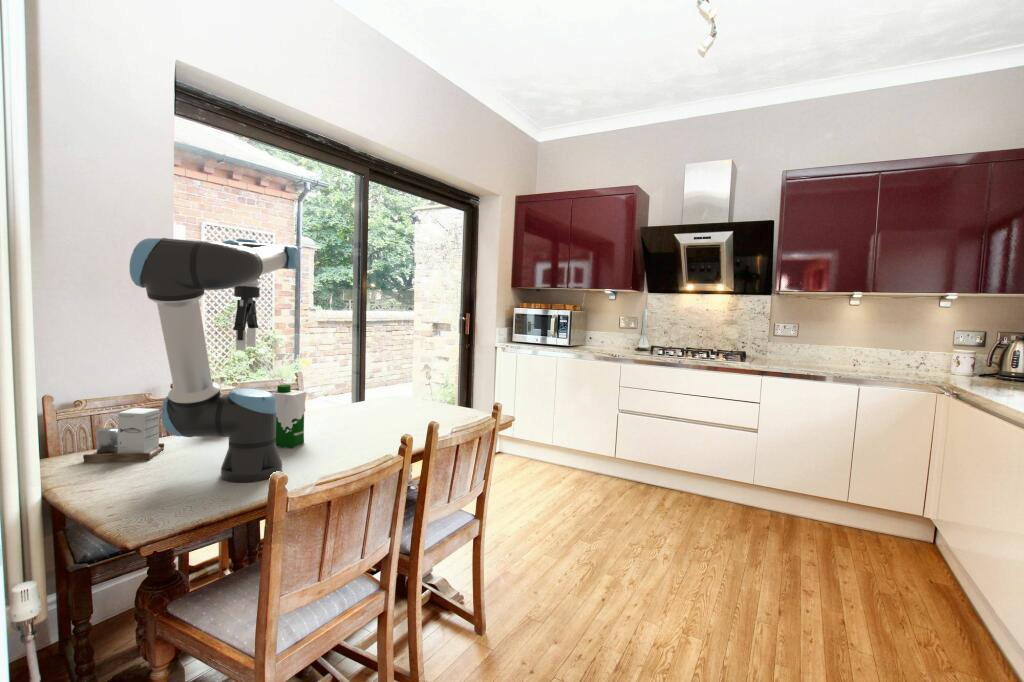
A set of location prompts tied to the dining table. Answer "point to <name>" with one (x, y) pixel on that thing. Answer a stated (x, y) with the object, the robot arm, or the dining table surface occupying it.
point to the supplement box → (138, 430)
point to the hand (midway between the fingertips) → (246, 348)
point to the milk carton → (289, 416)
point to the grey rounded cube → (107, 440)
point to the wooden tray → (122, 456)
